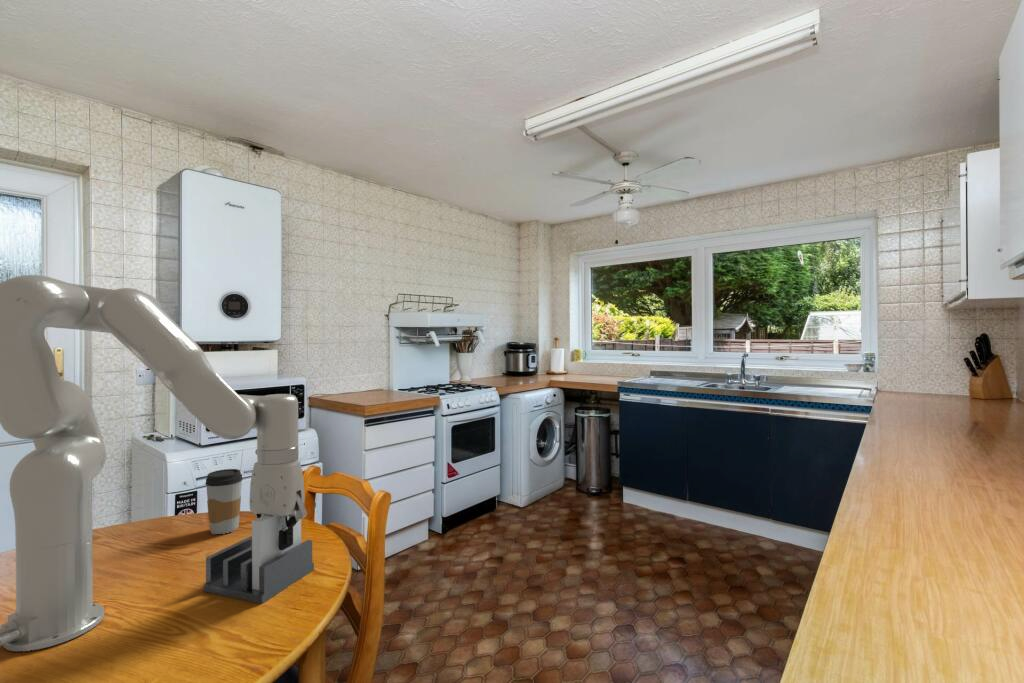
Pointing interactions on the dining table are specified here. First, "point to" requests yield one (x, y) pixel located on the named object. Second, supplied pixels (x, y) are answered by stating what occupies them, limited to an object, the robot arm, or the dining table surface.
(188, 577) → the dining table surface
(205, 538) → the dining table surface
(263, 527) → the plate
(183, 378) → the robot arm
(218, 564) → the dish rack
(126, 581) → the dining table surface
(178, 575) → the dining table surface
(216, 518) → the coffee cup
